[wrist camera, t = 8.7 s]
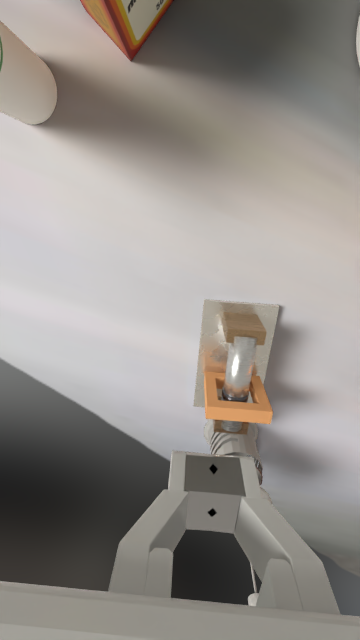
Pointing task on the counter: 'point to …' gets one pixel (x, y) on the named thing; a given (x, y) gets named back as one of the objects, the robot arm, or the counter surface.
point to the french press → (238, 447)
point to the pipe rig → (234, 352)
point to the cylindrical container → (24, 81)
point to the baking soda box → (127, 20)
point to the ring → (236, 410)
